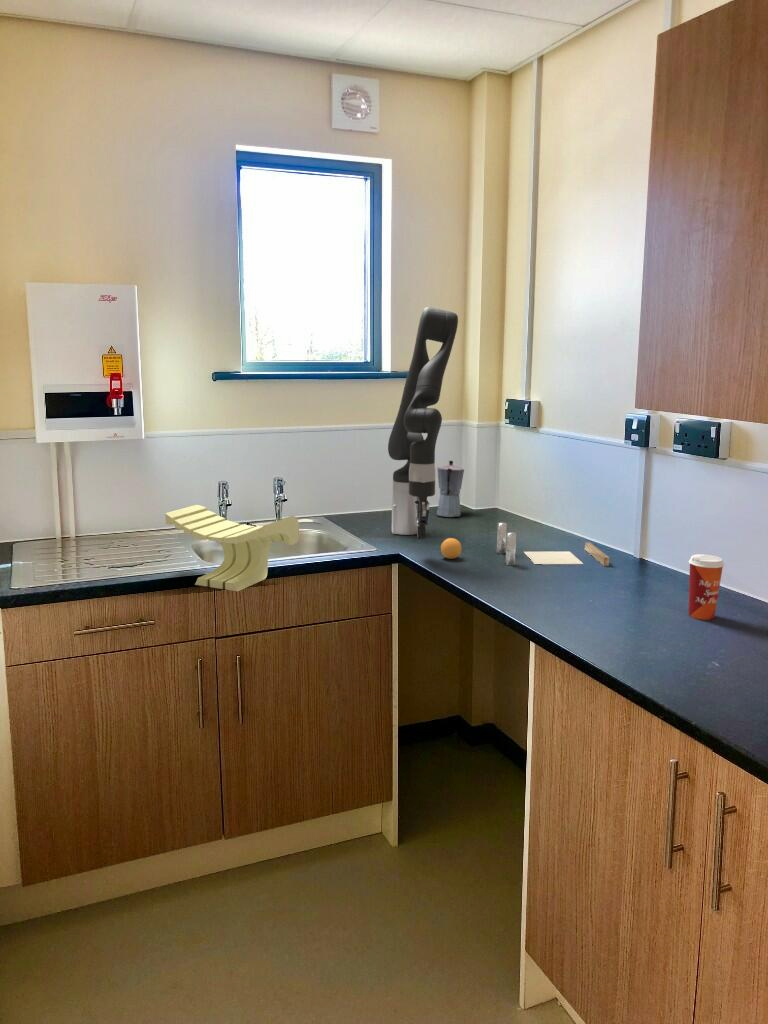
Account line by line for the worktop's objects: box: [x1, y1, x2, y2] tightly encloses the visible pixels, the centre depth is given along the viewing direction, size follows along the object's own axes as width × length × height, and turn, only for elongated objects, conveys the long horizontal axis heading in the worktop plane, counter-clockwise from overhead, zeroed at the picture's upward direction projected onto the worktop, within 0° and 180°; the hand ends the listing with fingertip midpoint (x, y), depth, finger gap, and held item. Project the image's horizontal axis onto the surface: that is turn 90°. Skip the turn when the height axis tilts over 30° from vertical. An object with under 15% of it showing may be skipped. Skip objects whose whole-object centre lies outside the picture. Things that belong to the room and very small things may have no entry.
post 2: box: [505, 531, 517, 566], centre depth 236 cm, size 3×3×9 cm
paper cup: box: [688, 553, 725, 621], centre depth 192 cm, size 8×8×14 cm
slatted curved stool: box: [165, 504, 300, 592], centre depth 216 cm, size 30×16×18 cm, turn 65°
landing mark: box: [523, 550, 584, 565], centre depth 244 cm, size 14×14×1 cm
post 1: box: [496, 521, 508, 555], centre depth 248 cm, size 3×3×9 cm
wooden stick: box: [584, 541, 610, 567], centre depth 244 cm, size 2×18×2 cm, turn 3°
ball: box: [440, 537, 463, 560], centre depth 241 cm, size 6×6×6 cm
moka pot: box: [436, 460, 465, 518], centre depth 299 cm, size 10×15×20 cm, turn 174°
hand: (421, 538), depth 240 cm, fingers closed
